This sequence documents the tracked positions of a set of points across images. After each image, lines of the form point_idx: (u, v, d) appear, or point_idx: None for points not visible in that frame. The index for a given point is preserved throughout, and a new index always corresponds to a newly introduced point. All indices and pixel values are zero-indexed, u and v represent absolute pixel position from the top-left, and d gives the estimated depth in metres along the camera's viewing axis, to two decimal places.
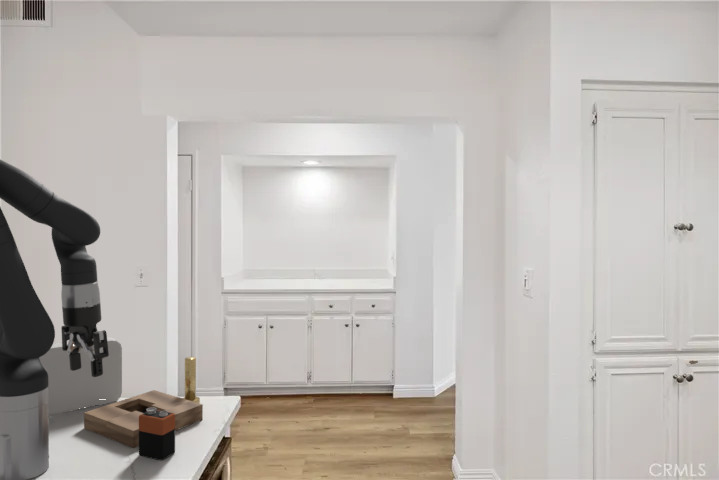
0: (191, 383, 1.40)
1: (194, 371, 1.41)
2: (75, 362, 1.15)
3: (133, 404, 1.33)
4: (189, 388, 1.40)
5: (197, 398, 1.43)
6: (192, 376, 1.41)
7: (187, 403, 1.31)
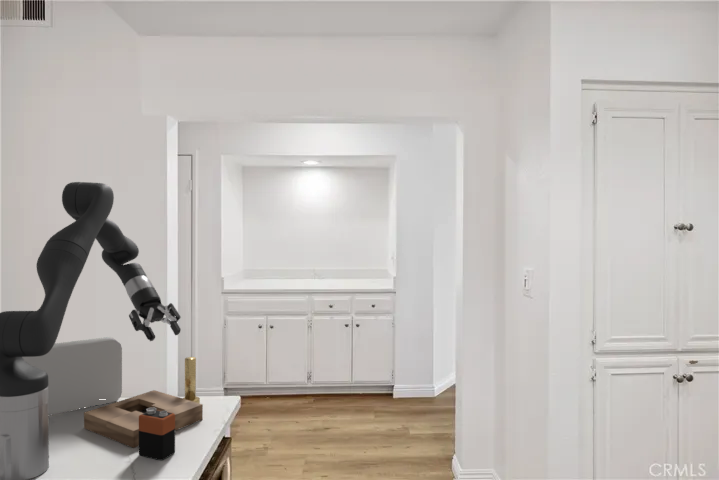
0: (191, 383, 1.40)
1: (194, 371, 1.41)
2: None
3: (133, 404, 1.33)
4: (189, 388, 1.40)
5: (197, 398, 1.43)
6: (192, 376, 1.41)
7: (187, 403, 1.31)
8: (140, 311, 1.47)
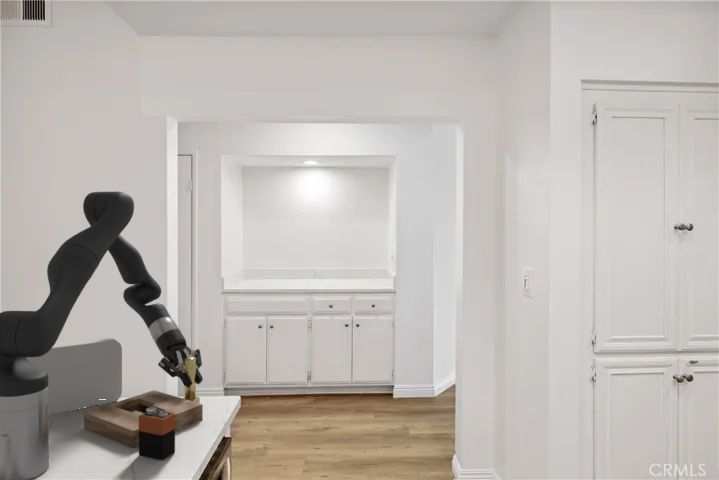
0: None
1: (194, 371, 1.41)
2: None
3: (133, 404, 1.33)
4: (189, 388, 1.40)
5: (197, 398, 1.43)
6: (192, 376, 1.41)
7: (187, 403, 1.31)
8: (167, 356, 1.40)
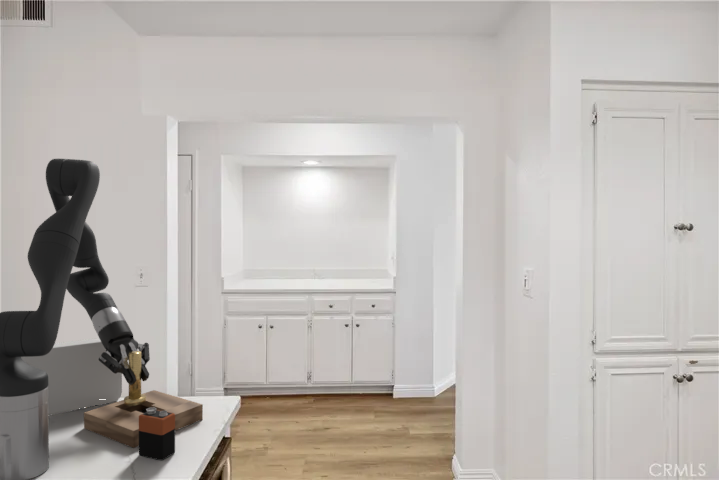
0: None
1: (139, 367, 1.28)
2: None
3: None
4: (133, 386, 1.28)
5: (143, 396, 1.30)
6: (136, 372, 1.28)
7: (187, 403, 1.31)
8: (110, 350, 1.28)
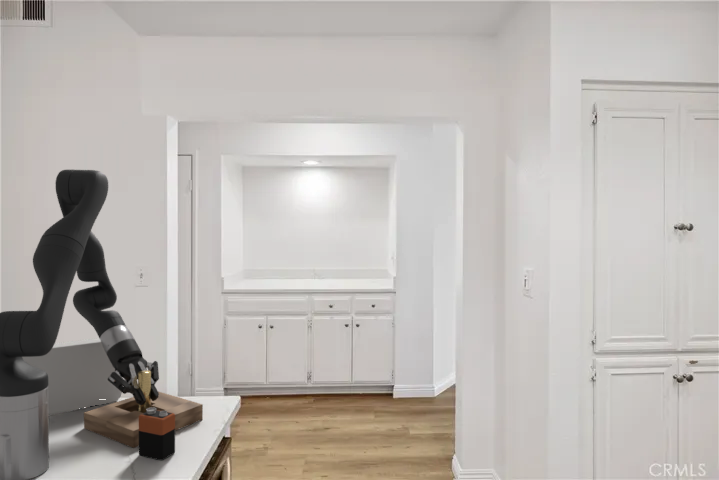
0: None
1: (148, 386, 1.26)
2: None
3: (133, 404, 1.33)
4: (143, 406, 1.26)
5: None
6: (146, 392, 1.26)
7: (187, 403, 1.31)
8: (119, 370, 1.26)
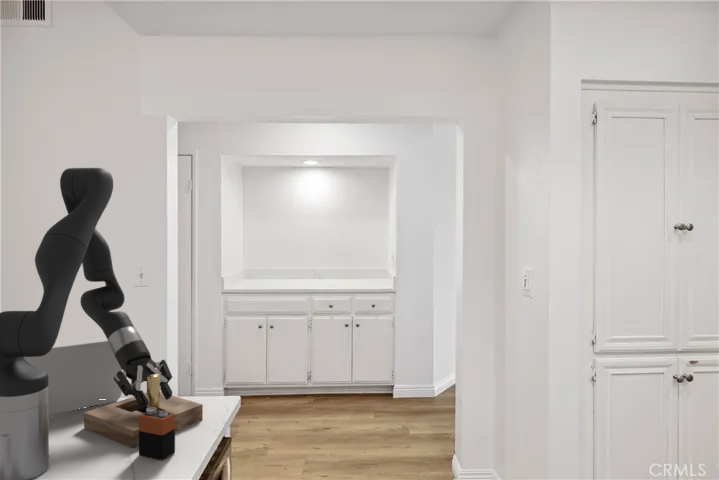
0: (154, 404, 1.24)
1: (157, 390, 1.25)
2: None
3: (133, 404, 1.33)
4: None
5: None
6: (155, 396, 1.24)
7: (187, 403, 1.31)
8: (126, 371, 1.24)
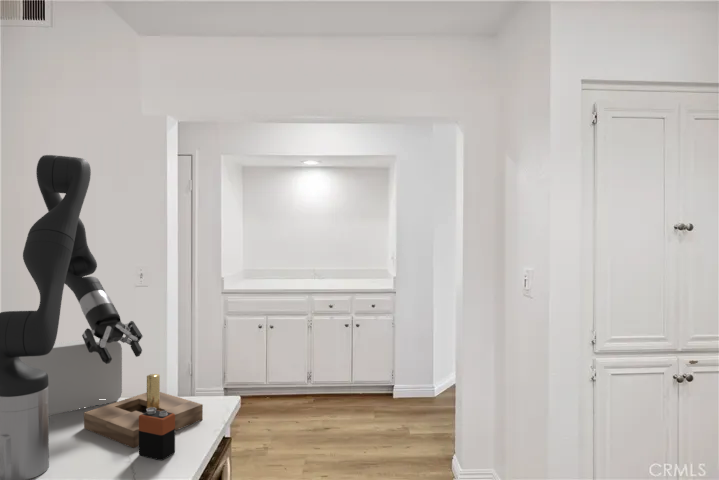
0: (154, 404, 1.24)
1: (157, 390, 1.25)
2: None
3: (133, 404, 1.33)
4: None
5: None
6: (155, 395, 1.24)
7: (187, 403, 1.31)
8: (95, 330, 1.31)
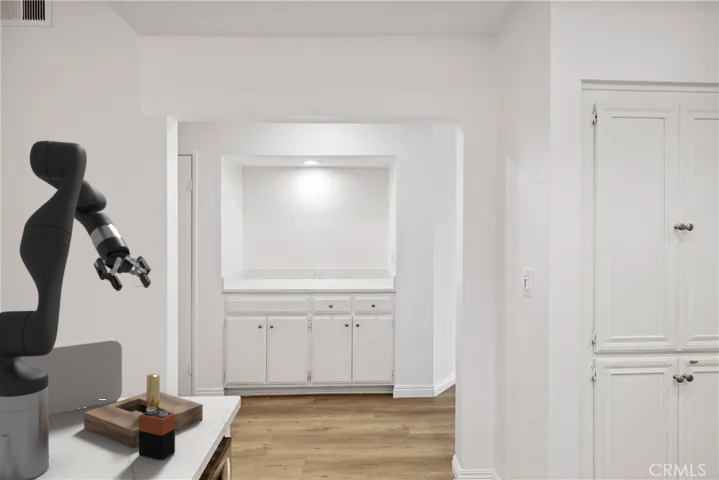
0: (154, 404, 1.24)
1: (157, 390, 1.25)
2: None
3: (133, 404, 1.33)
4: None
5: None
6: (155, 395, 1.24)
7: (187, 403, 1.31)
8: (106, 260, 1.36)
